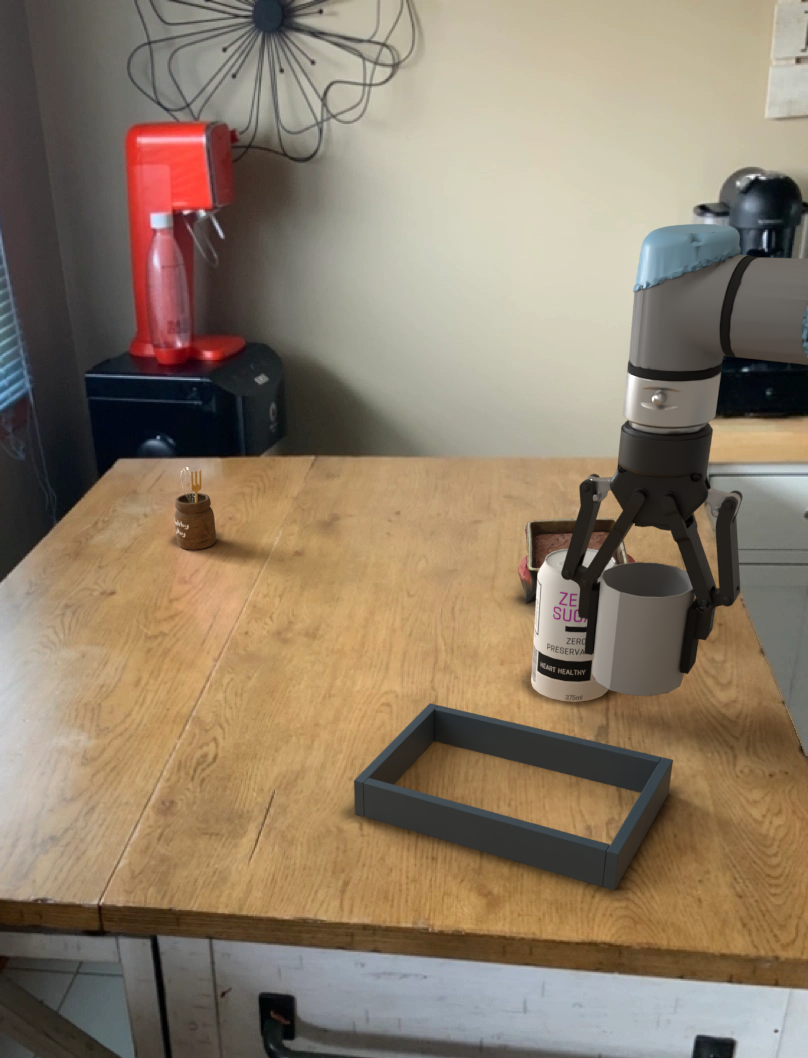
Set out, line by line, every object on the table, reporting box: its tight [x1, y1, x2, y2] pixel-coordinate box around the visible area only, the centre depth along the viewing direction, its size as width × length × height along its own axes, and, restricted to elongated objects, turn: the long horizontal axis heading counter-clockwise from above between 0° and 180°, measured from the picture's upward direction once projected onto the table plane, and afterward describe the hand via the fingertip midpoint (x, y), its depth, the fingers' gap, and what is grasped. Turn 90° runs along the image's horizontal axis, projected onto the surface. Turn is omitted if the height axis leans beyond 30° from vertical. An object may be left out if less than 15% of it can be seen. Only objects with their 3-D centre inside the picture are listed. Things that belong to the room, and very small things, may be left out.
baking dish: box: [517, 517, 636, 605], centre depth 143 cm, size 14×18×10 cm
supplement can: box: [530, 549, 616, 703], centre depth 119 cm, size 8×8×15 cm
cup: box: [592, 561, 696, 697], centre depth 106 cm, size 8×8×10 cm
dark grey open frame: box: [353, 702, 674, 891], centre depth 103 cm, size 24×16×4 cm, turn 58°
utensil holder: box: [173, 467, 217, 551], centre depth 165 cm, size 6×6×12 cm
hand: (639, 657), depth 108 cm, fingers closed on cup, 8 cm apart
